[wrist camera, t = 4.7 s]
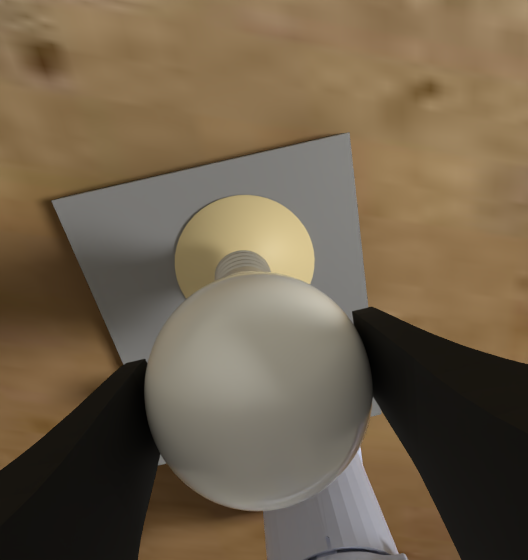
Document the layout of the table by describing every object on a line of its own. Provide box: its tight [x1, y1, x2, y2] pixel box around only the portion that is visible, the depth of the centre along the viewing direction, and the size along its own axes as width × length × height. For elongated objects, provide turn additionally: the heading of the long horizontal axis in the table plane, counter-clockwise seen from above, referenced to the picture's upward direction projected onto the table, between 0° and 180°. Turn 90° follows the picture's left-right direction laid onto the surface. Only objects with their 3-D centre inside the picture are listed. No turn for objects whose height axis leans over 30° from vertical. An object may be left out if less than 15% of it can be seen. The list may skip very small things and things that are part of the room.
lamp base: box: [52, 133, 381, 465], centre depth 18 cm, size 13×15×6 cm
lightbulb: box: [144, 250, 373, 511], centre depth 12 cm, size 6×6×11 cm
